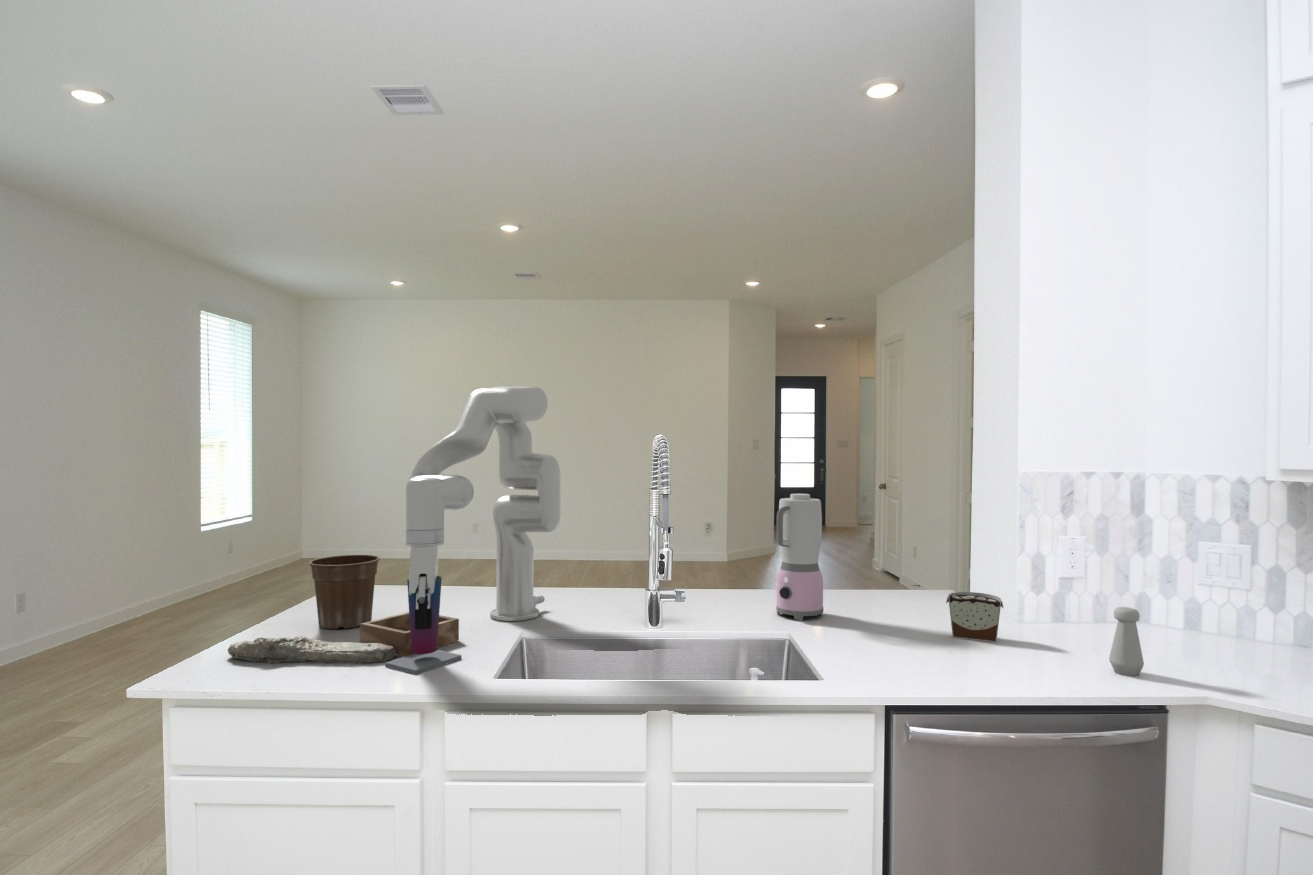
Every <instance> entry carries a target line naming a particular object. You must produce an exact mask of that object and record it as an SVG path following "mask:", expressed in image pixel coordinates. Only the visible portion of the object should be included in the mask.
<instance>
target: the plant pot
mask: <svg viewBox="0 0 1313 875" xmlns="http://www.w3.org/2000/svg"><path fill="white" fill-rule="evenodd" d="M380 559H381V558H380V556H378V555H373V554H345V555H333V556H325V557H320V558H315V559H312V560H310V561H309V562H308V563H309V566H311V567H310V568H311V576H312V579H313V581H314V583H313V584H314V591H315V600H316V610H317V619H318V621H317V622H318V626H319V627H320V628H322V629H324V630H337V629H339V628H344V629H353V628H360V624H361V623H365V622H369V621H373V620H372V618H373V606H374V596H375V595H374V593H375V592H374V591H375V582H376V575H377V573H378V565H379V564H378V563H379V561H380Z"/></svg>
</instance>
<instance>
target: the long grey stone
mask: <svg viewBox="0 0 1313 875" xmlns="http://www.w3.org/2000/svg"><path fill="white" fill-rule="evenodd" d="M227 654H228V655H230V656H231V657H232V659H237V660H242V661H243V660H244V661H249V662H251V661H253V662H258V661H265V662H264V663H267V664H270V663H269V662H274V663H275V662H280V663H285V662H286V663H287V662H288V663H295V662H297V663H301V662H305V661H312V662H316V661H318V663H327V662H338V663H344V664H346V663H349V664H365V663H382V662H381V661H384V662H389V661H392V660H394V658H395V657H396V655H395V650H394V647H392V646H387V645H384V644H381V643H360V642H355V641H350V642H349V641H326V640H320V639H319V640H318V639H314V638H308V637H306V636H304V635H303V636H302V635H299V636H295V637H281V636H280V637H278V638H275V637H263V636H262V637H257V638H255V639H254V640H253V641H252V640H244V641H238V642H234V643H232V644H230V645H229V647H228V648H227Z"/></svg>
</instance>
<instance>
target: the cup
mask: <svg viewBox="0 0 1313 875" xmlns="http://www.w3.org/2000/svg"><path fill="white" fill-rule="evenodd" d="M442 579H443V578H442V576H441V575H437V580H436V581H435V589H434V593H433V594H431V602H430V608H432V627H431V628H430V629H415V609H416V591H415V593H412V594H413V595H410V594H409V577H408V578H407V579H406V582H407V583H406V584H407V601H408V612H409V618H410V635H411V652H412V653H414V654H429V653H433V652H435V651H436V650H438V647H437V640H438V625H439V615H440V607H441V591H442ZM426 584H427V578H426ZM417 587H418V593H419V585H418V586H417ZM426 593H429V587H428V589H426ZM425 598H427V599H428V597H425ZM427 601H428V600H427Z"/></svg>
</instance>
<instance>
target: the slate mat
mask: <svg viewBox="0 0 1313 875" xmlns="http://www.w3.org/2000/svg"><path fill="white" fill-rule="evenodd" d="M456 660H457V661H459V660H462V654H458V653H453V652H450V651H446V650H445V651H444V650H440V649H437V650H436V651H435V652H433V653H429V654H412V655H409V656H406V657H403V656H401V657H400V658H396V659H392V660H388V661H385V663H384V664H385V665H384V666H385V667H386V668H390V669H393V670H398V671H401V672H404V673H408V674H413V675H417V674H421V673H423V672H426V671H430V670H433V669H436V668H439V667H442V666H444V665H448V664H450V662H451V663H453V662H452V661H454V662H457V661H456ZM447 663H448V664H447ZM441 665H442V666H441Z"/></svg>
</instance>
